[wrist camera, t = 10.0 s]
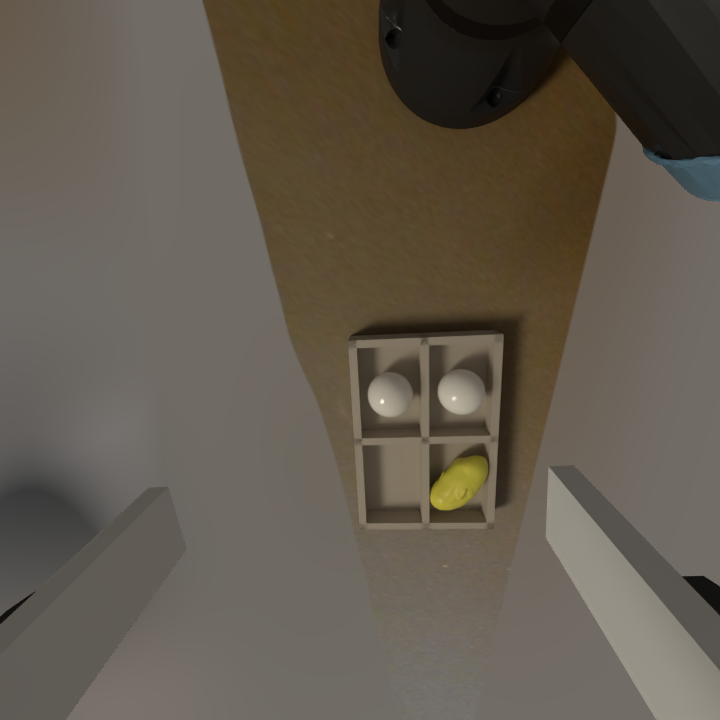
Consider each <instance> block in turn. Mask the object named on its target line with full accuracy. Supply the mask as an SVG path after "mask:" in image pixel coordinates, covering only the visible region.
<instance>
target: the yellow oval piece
mask: <svg viewBox="0 0 720 720" xmlns="http://www.w3.org/2000/svg"><path fill="white" fill-rule="evenodd" d="M487 475H488V462H487V460H486V458H484V457H482V456H479V455H474V456H470V457H466V458H457V459H455V460H454V461H453V462H452V463H451V464H450V465H449V467H448V468H447V469H446V470H445V471H443V472H442V475H441V476H440V477H439V478H438V479H437V480H436V481H435V482H434V484H433V485H432V487H431V490H430V501H431V503H432V505H433V506H434V507H435V508H437V509H439V510H453V509H456V508H459V507H461V506H463V505H465V504H466V503H468V502H469V501H470V500H471V499H472V498H473V497H474V496H475V495H476V493H477V492H478V491H479V490H480V488H481V487H482V486H483V484H484V482H485V480H486V478H487Z"/></svg>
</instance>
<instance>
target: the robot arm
mask: <svg viewBox="0 0 720 720" xmlns="http://www.w3.org/2000/svg"><path fill="white" fill-rule="evenodd" d="M379 45H380V53H381V58H382V62H383V66H384V69H385V72H386V75H387V77H388V80H389V82H390V84H391V86H392V88H393V89H394V91H395V93H396V94H397V95H398V97H399V98H400V99H401V101H402V102H403V103H404V104H405V105H406V106H407V107H408V108H409V109H410V110H411V111H412V112H413V113H415V114H416V115H417V116H419V117H420V118H422V119H424V120H426V121H428V122H430V123H432V124H435V125H438V126H441V127H446V128H452V129H466V128H473V127H478V126H482V125H485V124H488V123H490V122H492V121H495V120H497V119H499V118H500V117H502V116H504V115H505V114H507V113H508V112H510V111H511V110H512V109H514V108H515V107H516V106H517V105H518V104H520V103H521V102H522V101H523V100H524V99H525V98H526V96H527V95H528V94H529V93H530V92H531V91H532V89H533V88H534V87H535V86H536V85H537V83H538V82H539V81H540V80H541V78H542V77H543V76H544V74H545V73H546V72H547V70H548V69H549V67H550V65H551V64H552V62H553V60H554V59H555V57H556V55H557V53H558V51H559V49H560V47H561V46H562V47H563V48H564V49H565V51H566V52H567V53H568V54H569V55H570V57H571V58H572V59H573V60H574V61H575V62H576V64H577V65H578V66H579V67H580V69H581V70H582V71H583V72H584V73H585V75H586V76H587V77H588V78H589V80H590V81H591V82H592V83H593V85H594V86H595V87H596V88H597V90H598V91H599V92H600V93H601V95H602V96H603V97H604V98H605V99H606V101H607V102H608V103H609V104H610V106H611V107H612V108H613V109H614V111H615V112H616V113H617V114H618V116H619V117H620V118H621V119H622V121H623V122H624V123H625V124H626V125H627V127H628V128H629V129H630V130H631V132H632V133H633V134H634V135H635V137H636V138H637V139H638V140H639V142H640V143H641V144H642V146H643V152H644V154H645V155H646V156H647V157H648V158H649V159H650V160H651V161H653V162H655V163H657V164H660V165H662V166H663V167H664V168H665V169H666V170H667V171H668V172H669V173H670V174H671V175H672V176H673V177H674V178H675V179H676V180H677V181H678V183H679V184H681V186H683V188H684V189H685V190H687V191H688V192H689V193H690V194H692V195H694V196H696V197H698V198H701V199H703V200H707V201H720V0H380V5H379ZM547 499H548V500H547V521H546V538H547V540H548V542H549V543H550V545H551V547H552V548H553V550H554V552H555V553H556V555H557V556H558V558H559V560H560V561H561V563H562V565H563V566H564V568H565V570H566V571H567V573H568V575H569V576H570V578H571V580H572V581H573V583H574V584H575V586H576V588H577V589H578V591H579V593H580V594H581V596H582V598H583V599H584V601H585V603H586V604H587V606H588V608H589V609H590V611H591V613H592V614H593V616H594V618H595V619H596V621H597V622H598V624H599V626H600V627H601V629H602V631H603V632H604V634H605V636H606V637H607V639H608V641H609V642H610V644H611V646H612V647H613V649H614V651H615V652H616V654H617V655H618V657H619V659H620V660H621V662H622V664H623V665H624V667H625V669H626V670H627V672H628V674H629V675H630V677H631V679H632V680H633V682H634V684H635V685H636V687H637V688H638V690H639V692H640V693H641V695H642V696H643V698H644V700H645V702H646V703H647V705H648V707H649V708H650V710H651V711H652V713H653V715H654V717H655V718H656V720H720V587H719V586H718V585H717V584H715V583H713V582H712V581H710V580H709V579H707V578H706V577H704V576H681V575H680V574H679V573H678V572H677V571H676V570H675V569H674V568H673V567H672V566H671V565H670V564H669V563H668V562H667V561H666V560H665V559H664V558H663V557H662V556H661V555H660V554H659V553H658V552H657V551H656V550H655V549H654V547H653V546H652V545H651V544H650V543H649V542H648V541H646V539H645V538H644V537H643V536H642V535H641V534H640V533H639V532H638V531H637V530H636V529H635V528H634V527H633V526H632V525H631V524H630V523H629V522H628V521H627V520H626V519H625V518H624V517H623V516H622V515H621V513H620V512H619V511H617V509H616V508H614V506H613V505H612V504H611V503H610V502H609V501H608V500H607V499H606V498H605V497H604V496H603V495H602V494H601V493H600V492H599V491H598V490H597V489H596V488H595V487H594V486H593V485H592V484H591V483H590V482H589V481H588V480H587V479H586V477H584V475H583V474H582V473H581V472H580V471H579V470H578V469H577V468H576V467H575V466H573V465H571V466H552V467H549V472H548V497H547ZM185 551H186V546H185V542H184V539H183V536H182V532H181V529H180V525H179V522H178V519H177V515H176V512H175V508H174V505H173V501H172V498H171V495H170V491H169V488H168V487H154V488H148V489H147V490H146V491H145V492H143V493H142V494H141V495H140V496H139V497H138V498H137V499H136V500H135V501H134V502H132V503H131V504H130V505H129V506H128V507H127V508H126V509H125V510H124V511H123V512H122V513H121V514H119V515H118V516H117V517H116V518H115V519H114V520H113V521H112V522H111V523H110V524H109V525H108V526H107V527H105V528H104V529H103V530H102V531H101V532H100V533H99V534H98V535H97V536H96V537H95V538H93V539H92V540H91V541H90V542H89V543H88V544H87V545H86V546H85V547H84V548H83V549H82V550H80V551H79V552H78V553H77V554H76V555H75V556H74V557H73V558H72V559H71V560H70V561H69V562H67V563H66V564H65V565H64V566H63V567H62V568H61V569H60V570H59V571H58V572H57V573H56V574H54V576H52V577H51V578H50V579H49V580H48V581H47V582H46V583H45V584H44V585H42V586H41V587H40V588H39V589H38V590H37V591H36V592H34V593H32V594H30V595H29V596H28V597H26V598H25V599H23V600H22V601H20V602H19V603H17V604H16V605H14V606H13V607H12V608H10V609H9V610H7V611H6V612H5V613H4V614H3V615H2V616H0V720H66V718H67V717H68V716H69V714H70V713H71V711H72V710H73V709H74V707H75V706H76V704H77V703H78V702H79V700H80V699H81V697H82V696H83V695H84V693H85V692H86V690H87V689H88V687H89V686H90V685H91V683H92V682H93V680H94V679H95V678H96V676H97V675H98V673H99V672H100V671H101V669H102V667H103V666H104V664H105V663H106V662H107V661H108V659H109V658H110V656H111V655H112V653H113V652H114V651H115V649H116V648H117V647H118V645H119V644H120V642H121V641H122V640H123V638H124V637H125V635H126V634H127V632H128V631H129V630H130V628H131V627H132V625H133V624H134V623H135V621H136V620H137V618H138V617H139V616H140V614H141V612H142V611H143V610H144V608H145V607H146V606H147V604H148V603H149V601H150V600H151V599H152V597H153V595H154V594H155V593H156V592H157V590H158V589H159V587H160V586H161V585H162V583H163V582H164V580H165V579H166V577H167V576H168V575H169V573H170V571H171V570H172V569H173V567H174V566H175V565H176V563H177V562H178V560H179V559H180V558H181V556H182V555H183V553H184V552H185Z"/></svg>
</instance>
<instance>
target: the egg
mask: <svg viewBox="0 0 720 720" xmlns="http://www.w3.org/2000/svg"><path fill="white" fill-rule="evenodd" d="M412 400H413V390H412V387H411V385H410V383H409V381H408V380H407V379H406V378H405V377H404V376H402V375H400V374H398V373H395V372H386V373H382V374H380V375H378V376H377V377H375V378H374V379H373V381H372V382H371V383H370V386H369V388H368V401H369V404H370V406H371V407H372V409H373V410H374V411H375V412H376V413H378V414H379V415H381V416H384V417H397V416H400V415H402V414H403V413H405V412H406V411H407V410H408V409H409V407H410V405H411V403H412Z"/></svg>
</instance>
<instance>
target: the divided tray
mask: <svg viewBox="0 0 720 720" xmlns="http://www.w3.org/2000/svg"><path fill="white" fill-rule="evenodd" d="M503 341H504V334H502V333H500V332H498V331H496V330H475V331H452V332H429V333H405V334H382V335H359V336H350V338H349V340H348V347H349V363H350V379H351V395H352V411H353V428H354V444H355V460H356V476H357V492H358V508H359V524H360V529H494V514H495V495H496V475H497V456H498V437H499V418H500V399H501V379H502V360H503ZM455 369H466V370H470V371H472V372H474V373H475V374H477V375H478V376H479V377H480V378H481V380H482V381H483V383H484V386H485V399H484V401H483V403H482V405H481V406H480V407H479V408H478V409H477V410H476V411H475V412H473V413H470V414H466V415H458V414H454V413H451V412H449V411H448V410H447V409H445V408H444V407H443V405H442V404H441V403H440V401H439V398H438V393H437V390H438V385H439V382H440V380H441V379H442V377H443V376H444V375H445V374H446V373H448V372H450V371H452V370H455ZM386 372H395V373H398V374H400V375H402V376H404V377H405V378H406V379H407V380H408V381H409V383H410V385H411V387H412V390H413V400H412V403H411V405H410V407H409V409H408V410H407V411H406V412H405V413H403V414H402V415H400V416H397V417H384V416H381V415H379V414H378V413H376V412H375V411H374V410H373V409H372V407H371V406H370V404H369V401H368V388H369V386H370V383H371V382H372V381H373V379H374V378H375V377H377V376H378V375H380V374H382V373H386ZM474 455H479V456H482V457H484V458H486V460H487V462H488V475H487V478H486V480H485V482H484V484H483V486H482V487H481V488H480V490H479V491H478V492H477V493H476V495H475V496H474V497H473V498H472V499H471V500H470V501H469V502H468V503H466V504H465V505H463V506H461V507H459V508H456V509H453V510H439V509H437V508H435V507H434V506H433V505H432V503H431V501H430V490H431V487H432V485H433V484H434V482H435V481H436V480H437V479H438V478H439V477H440V476H441V475H442V472H443V471H445V470H446V469H447V468H448V467H449V465H450V464H451V463H452V462H453V461H454V460H455V459H457V458H466V457H470V456H474Z"/></svg>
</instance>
